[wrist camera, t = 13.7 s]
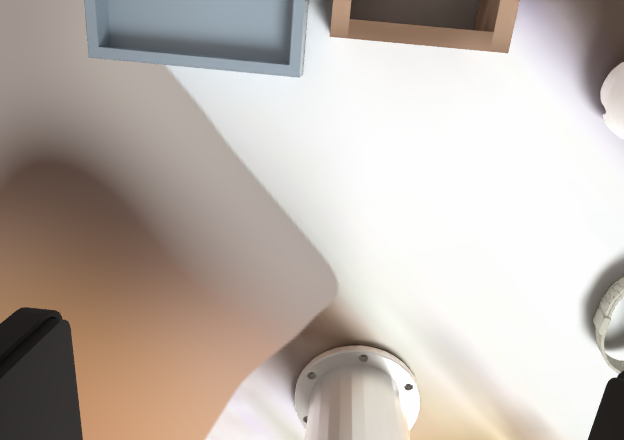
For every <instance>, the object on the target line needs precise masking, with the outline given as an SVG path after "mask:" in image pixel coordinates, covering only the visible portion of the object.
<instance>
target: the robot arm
mask: <svg viewBox="0 0 624 440" xmlns="http://www.w3.org/2000/svg"><path fill="white" fill-rule="evenodd" d="M294 402H295V409H296V412H297V415H298V417H299V420H300V421H301V423H302V424H303V426H304V427H305V428H306V437H305V440H411V439H410V432H409V430H410V429H411V428H412V426H413V425H414V423H415V421H416V420H417V417H418V414H419V411H420V394H419V389H418V385H417V382H416V379H415V378H414V376H413V374H412V372H411V371H410V370H409V368H408V367H407V366H406V365H405V364H404V363H403V362H402V361H400V360H399V359H398V358H397V357H395V356H393V355H391V354H389V353H388V352H386V351H383V350H380V349H377V348H374V347H368V346H362V345H355V346H343V347H337V348H334V349H331V350H329V351H326V352H324V353H322V354H320V355H319V356H317V357H315V358H314V359H313V360H312V361H311V362H309V363H308V364H307V365H306V367H305V368H304V369H303V371H302V372H301V374H300V376H299V378H298V380H297V384H296V389H295V397H294ZM0 440H83V438H82V428H81V419H80V410H79V401H78V393H77V383H76V374H75V364H74V355H73V346H72V337H71V328H70V325H69V323H68V321H66V320H62V316H61V315H60V313H59V312H57V311H55V310H46V309H36V308H27V307H26V308H20V309H19V310H17V311H16V312H14V313H13V314H12V315H11V316H9V317H8V318H7V319H6V320H5V321H3V322H2V323H1V324H0ZM588 440H624V371H622V372H621V373H620V374H619V375H618V377H617V378H611V379H610V380H609V381H608V383H607V385H606V388H605V391H604V394H603V397H602V400H601V403H600V406H599V409H598V412H597V414H596V417H595V420H594V423H593V426H592V429H591V432H590V435H589V438H588Z"/></svg>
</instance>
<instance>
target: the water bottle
mask: <svg viewBox="0 0 624 440" xmlns="http://www.w3.org/2000/svg"><path fill="white" fill-rule="evenodd" d="M600 94H601V102H602V104H603V106H604V107H605V110H606V113H604V114H603V118H604V122H605V123H606V125H607V126H608V128H609V129H610V130H611V131H612V132H613V133H615V134H616V135H617V136H618V137H620V138H621V139H623V140H624V62H622V63H621V64H619V65H618V66H616V67H615V68H614V69H613V70H612V71H611V72H610V73H609V74H608V76H607V78H606V79H605V81H604V83H603V85H602V88H601V92H600Z"/></svg>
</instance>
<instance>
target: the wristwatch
mask: <svg viewBox="0 0 624 440" xmlns="http://www.w3.org/2000/svg"><path fill="white" fill-rule="evenodd" d="M623 296H624V277H622V278H621V279H619V280H618V281H616V282H615V283H614V284H613V285H612V286H611V287H610V288H609V290H607V292H606V293H605V295H604V296H603V298H602V300H601V302H600V304H599V308H598V309H597V311H596V314H595V316H594V318H593V323H594V325H595V326H596V329H595V330H596V332H595V336H596V342H597V345H598V347H599V349H600V351H601V353H602V355H603V357H604V359H605V361H606V363H607V364H608V365H609V366H610V367H611V368H612V369H613V370H614V371H616V372H617V373H621V372H622V371H624V361H618V360H616V359H613V358H611V357H610V356H608V355H607V354H606V353H605V350H604V339H605V336H606V333H607V330H608V327H609V324H610V321H611V318H610V317H611V315H612V312H613V311H614V309H615V306H616V305H617V304H618V302H619V301H620V300H621V299H622V297H623Z"/></svg>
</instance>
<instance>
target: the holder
mask: <svg viewBox="0 0 624 440" xmlns="http://www.w3.org/2000/svg"><path fill="white" fill-rule="evenodd" d="M519 1H520V0H480V3H479V8H478V13H477V18H476V23H475V29H474V30H465V29H454V28H443V27H432V26H421V25H410V24H399V23H388V22H377V21H366V20H355V19H350V10H351V0H333V6H332V17H331V28H330V37H339V38H350V39H361V40H372V41H383V42H393V43H404V44H415V45H426V46H437V47H447V48H458V49H469V50H480V51H491V52H501V53H508V51H509V47H510V42H511V38H512V33H513V28H514V24H515V19H516V15H517V10H518V6H519Z"/></svg>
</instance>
